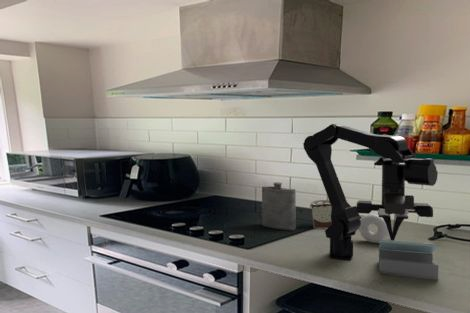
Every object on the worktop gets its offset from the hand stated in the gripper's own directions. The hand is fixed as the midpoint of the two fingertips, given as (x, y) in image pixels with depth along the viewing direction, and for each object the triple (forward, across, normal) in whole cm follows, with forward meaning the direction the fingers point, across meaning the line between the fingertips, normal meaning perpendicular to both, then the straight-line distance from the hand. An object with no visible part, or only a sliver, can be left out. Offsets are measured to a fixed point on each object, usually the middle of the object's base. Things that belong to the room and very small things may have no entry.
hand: (392, 239), depth 100 cm
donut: (+8, -4, +26) cm, 28 cm away
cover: (+3, +4, +3) cm, 6 cm away
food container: (+7, -22, +42) cm, 48 cm away
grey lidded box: (+9, +4, +4) cm, 11 cm away
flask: (+7, -39, +35) cm, 53 cm away
